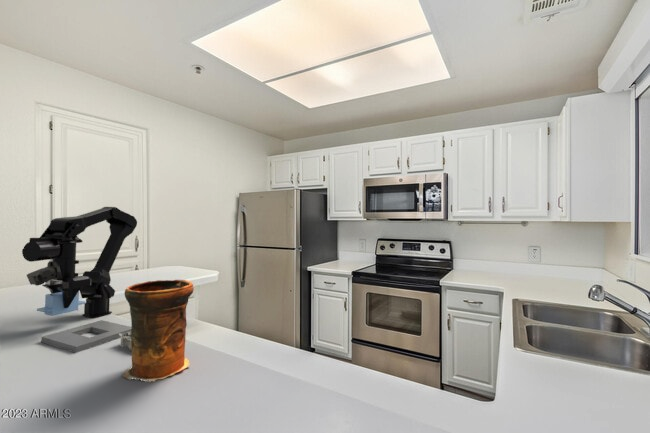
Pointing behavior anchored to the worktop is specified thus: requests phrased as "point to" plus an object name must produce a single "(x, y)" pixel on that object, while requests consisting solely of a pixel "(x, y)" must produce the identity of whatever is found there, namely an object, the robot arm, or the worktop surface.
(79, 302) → the servo
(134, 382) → the worktop surface
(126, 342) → the egg carton
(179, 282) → the vessel
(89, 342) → the chassis
